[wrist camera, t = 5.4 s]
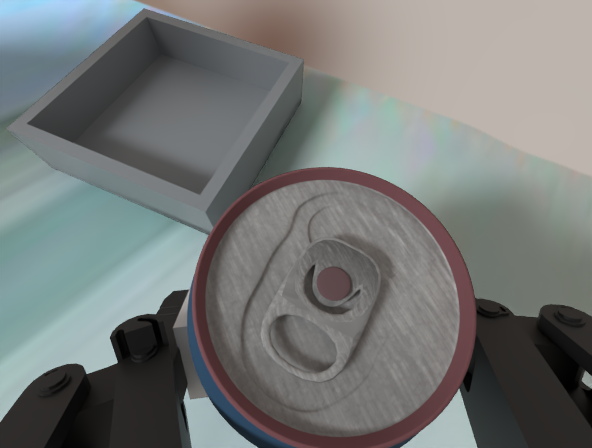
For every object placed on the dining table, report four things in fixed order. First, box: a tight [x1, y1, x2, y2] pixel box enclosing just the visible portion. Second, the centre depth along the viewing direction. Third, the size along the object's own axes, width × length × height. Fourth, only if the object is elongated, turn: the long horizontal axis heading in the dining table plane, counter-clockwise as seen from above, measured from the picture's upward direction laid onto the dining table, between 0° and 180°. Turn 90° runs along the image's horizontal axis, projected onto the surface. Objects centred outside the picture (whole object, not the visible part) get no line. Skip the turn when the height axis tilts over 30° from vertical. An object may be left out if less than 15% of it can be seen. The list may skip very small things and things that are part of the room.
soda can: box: [187, 167, 477, 448], centre depth 11 cm, size 7×7×12 cm
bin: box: [6, 9, 304, 235], centre depth 21 cm, size 14×14×4 cm
